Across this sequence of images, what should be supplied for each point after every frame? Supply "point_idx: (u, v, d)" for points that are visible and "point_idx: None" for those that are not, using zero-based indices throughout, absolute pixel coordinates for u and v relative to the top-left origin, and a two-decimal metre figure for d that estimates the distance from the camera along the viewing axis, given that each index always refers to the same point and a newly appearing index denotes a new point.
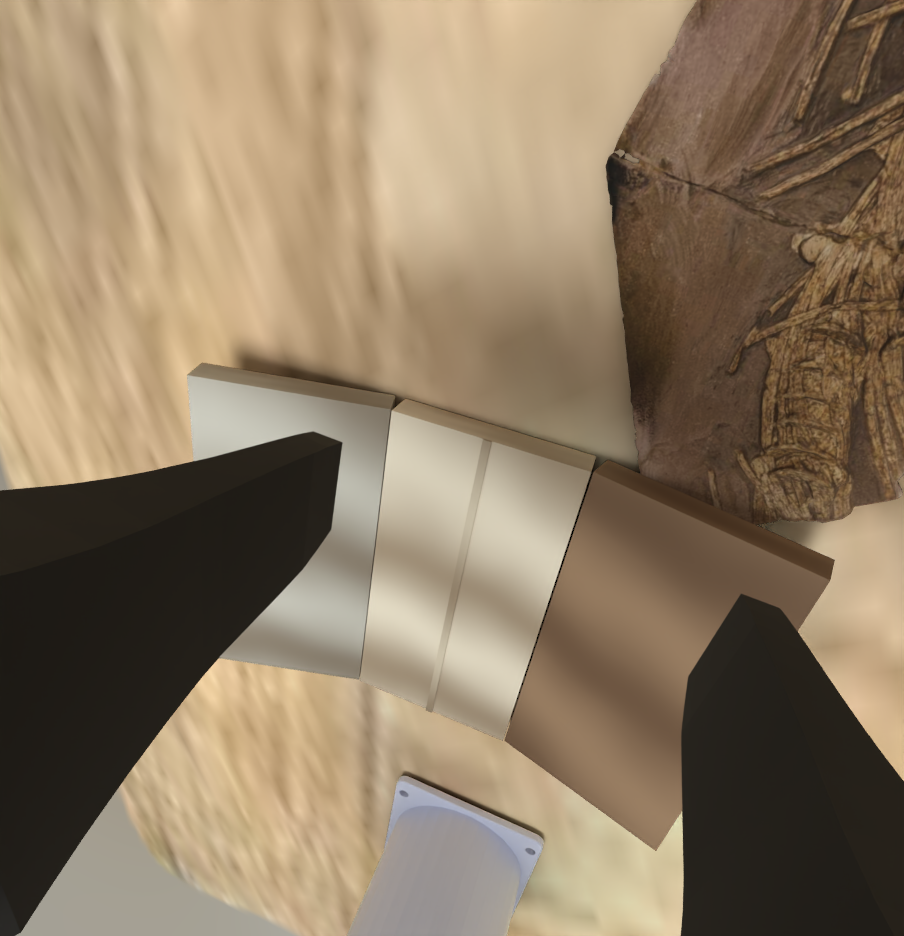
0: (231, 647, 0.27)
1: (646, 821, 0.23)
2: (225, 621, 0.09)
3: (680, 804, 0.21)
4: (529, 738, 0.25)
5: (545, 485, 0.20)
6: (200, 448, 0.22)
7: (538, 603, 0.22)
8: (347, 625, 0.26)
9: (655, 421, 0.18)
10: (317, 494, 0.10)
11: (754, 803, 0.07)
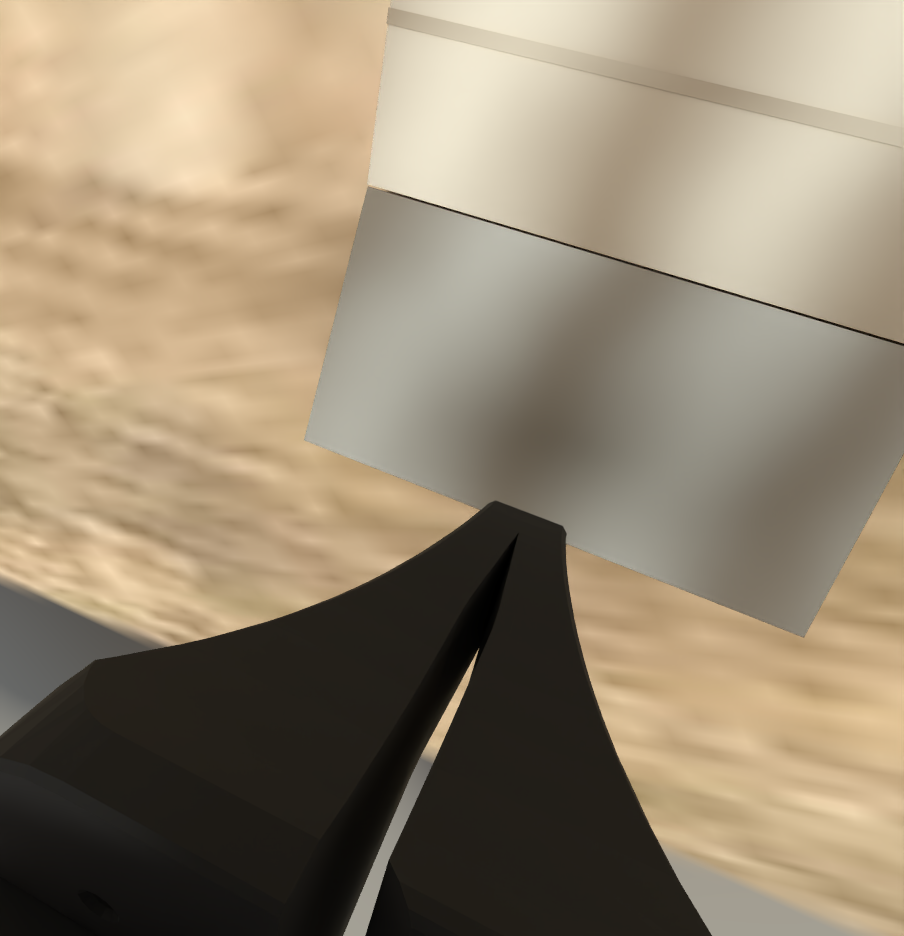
0: (790, 585, 0.14)
1: None
2: (434, 717, 0.08)
3: None
4: None
5: None
6: (395, 465, 0.16)
7: None
8: (776, 346, 0.13)
9: None
10: None
11: None
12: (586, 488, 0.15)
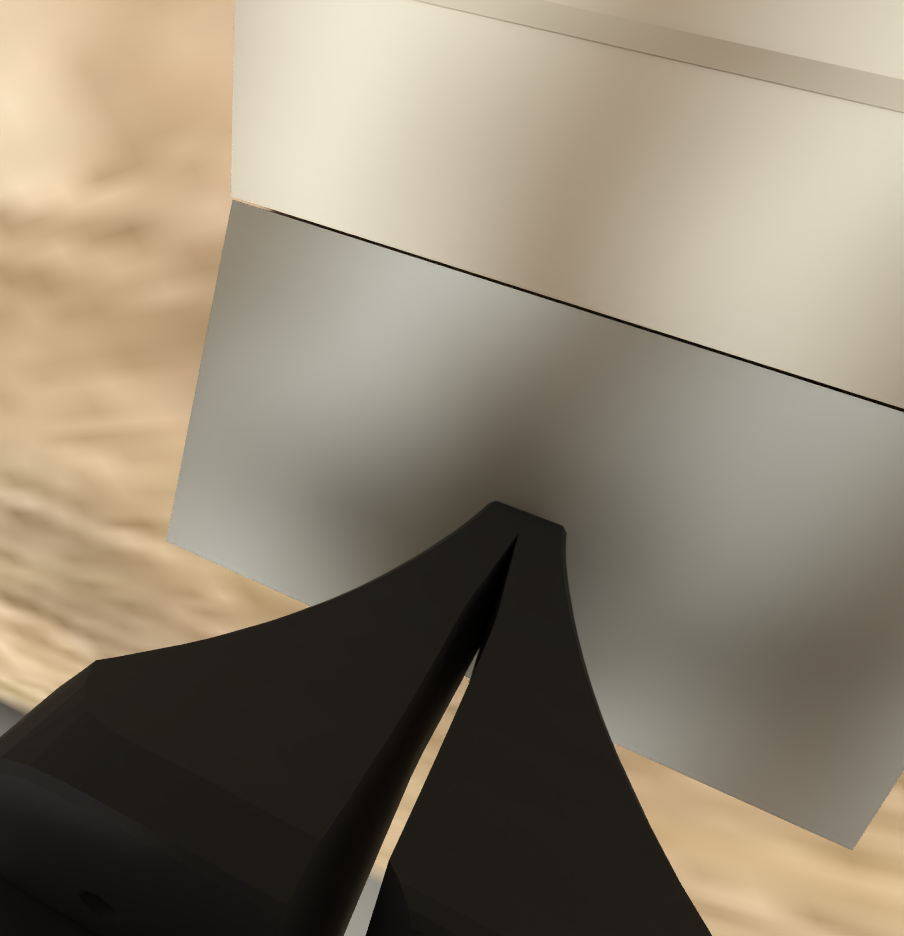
0: (834, 778, 0.10)
1: None
2: (434, 717, 0.08)
3: None
4: None
5: None
6: (284, 581, 0.12)
7: None
8: (816, 440, 0.09)
9: None
10: None
11: None
12: None
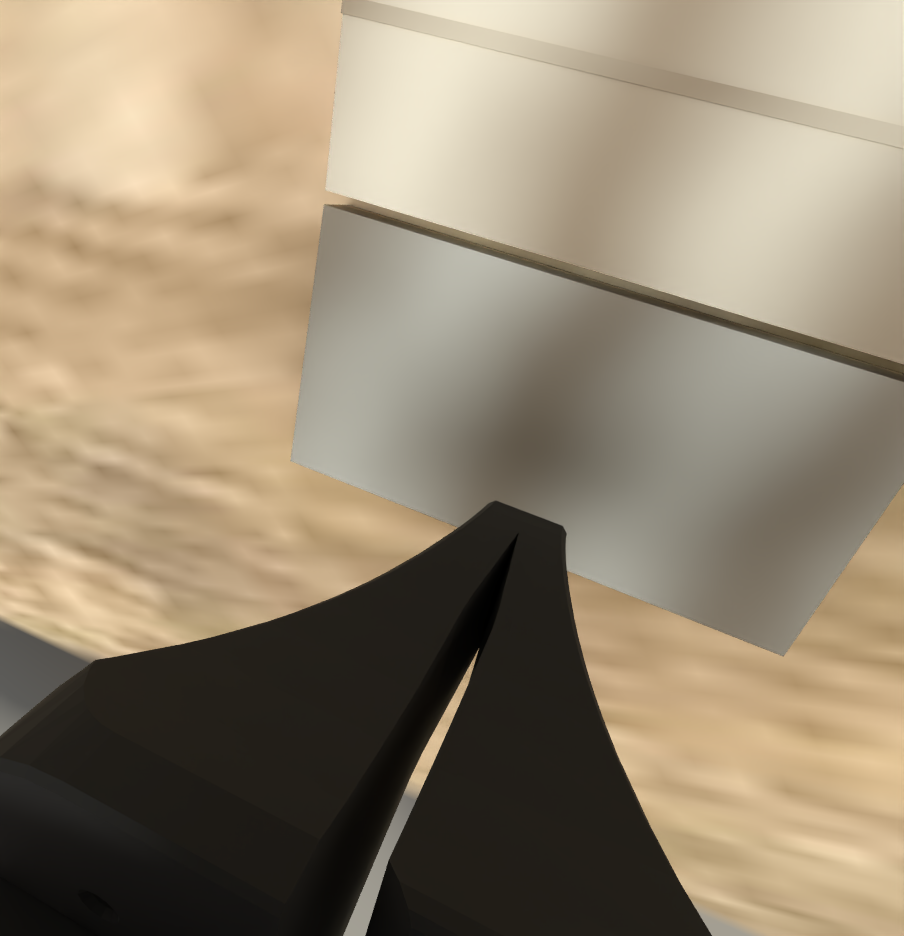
0: (772, 610, 0.14)
1: None
2: (434, 717, 0.08)
3: None
4: None
5: None
6: (380, 487, 0.17)
7: None
8: (765, 380, 0.12)
9: None
10: None
11: None
12: (568, 514, 0.15)
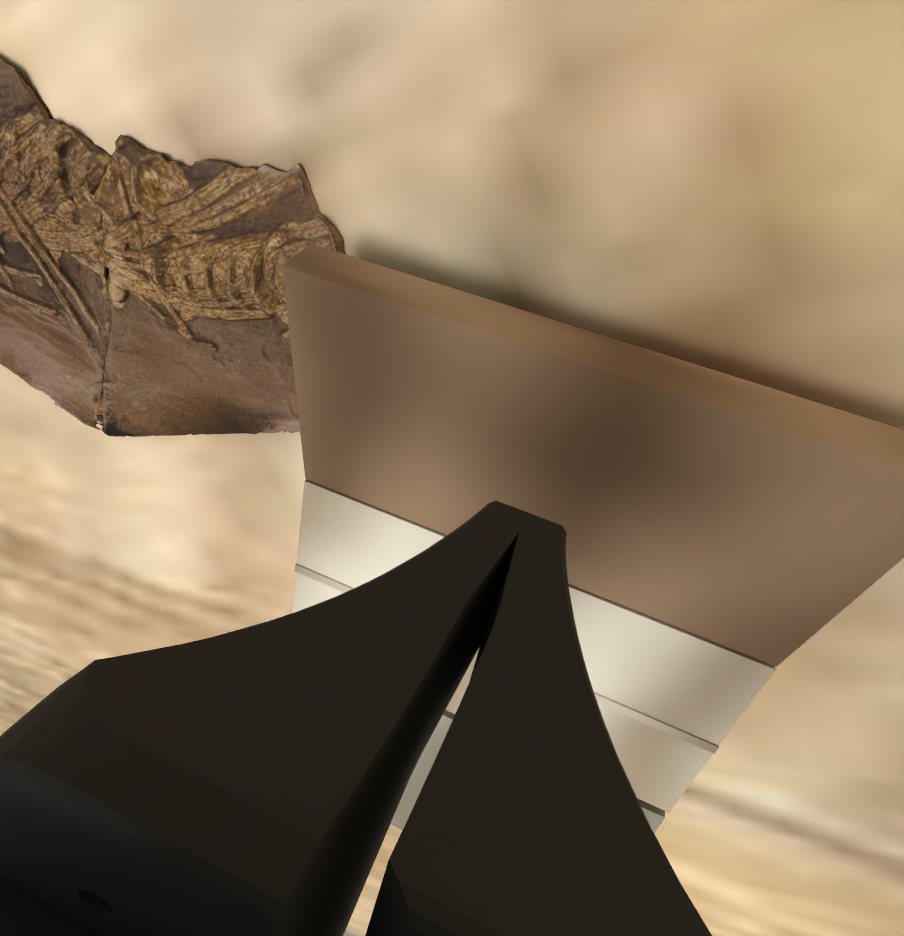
0: None
1: (881, 498, 0.11)
2: (434, 717, 0.08)
3: (793, 438, 0.11)
4: (750, 631, 0.15)
5: (328, 525, 0.18)
6: None
7: None
8: None
9: (269, 413, 0.19)
10: None
11: None
12: None
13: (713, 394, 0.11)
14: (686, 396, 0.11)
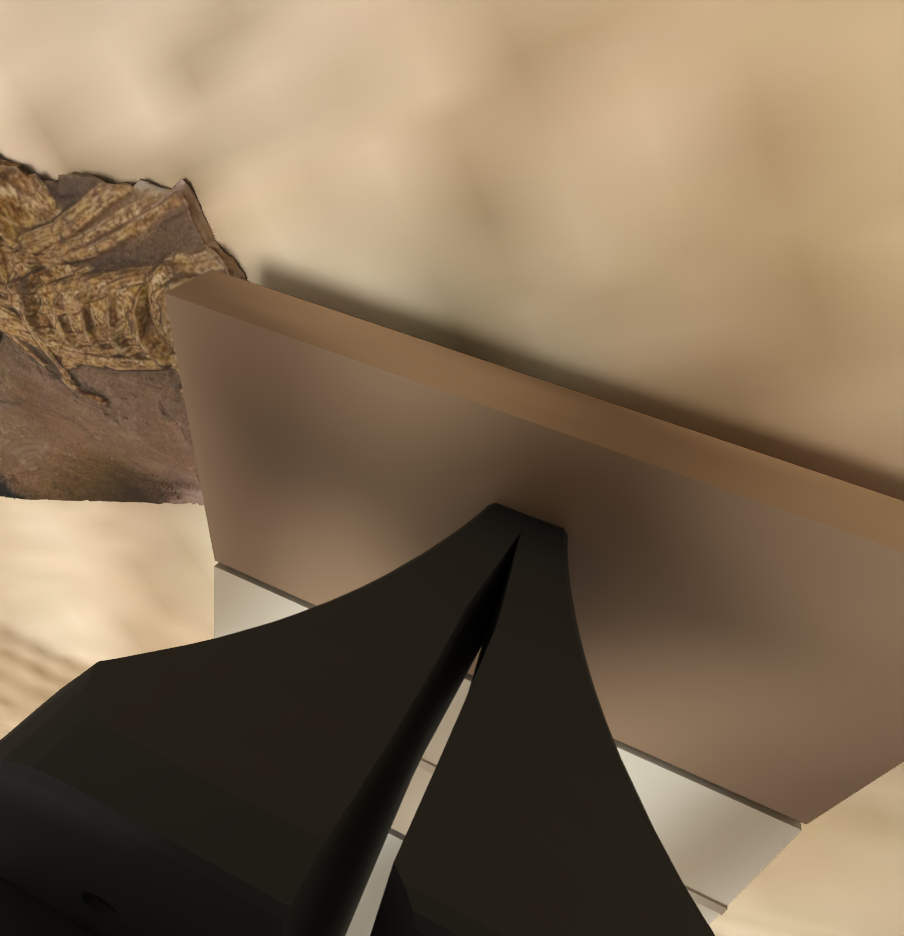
0: None
1: None
2: (436, 718, 0.08)
3: (843, 540, 0.08)
4: (772, 779, 0.11)
5: (246, 618, 0.15)
6: None
7: None
8: None
9: (175, 481, 0.15)
10: None
11: None
12: None
13: (730, 475, 0.08)
14: (694, 478, 0.08)
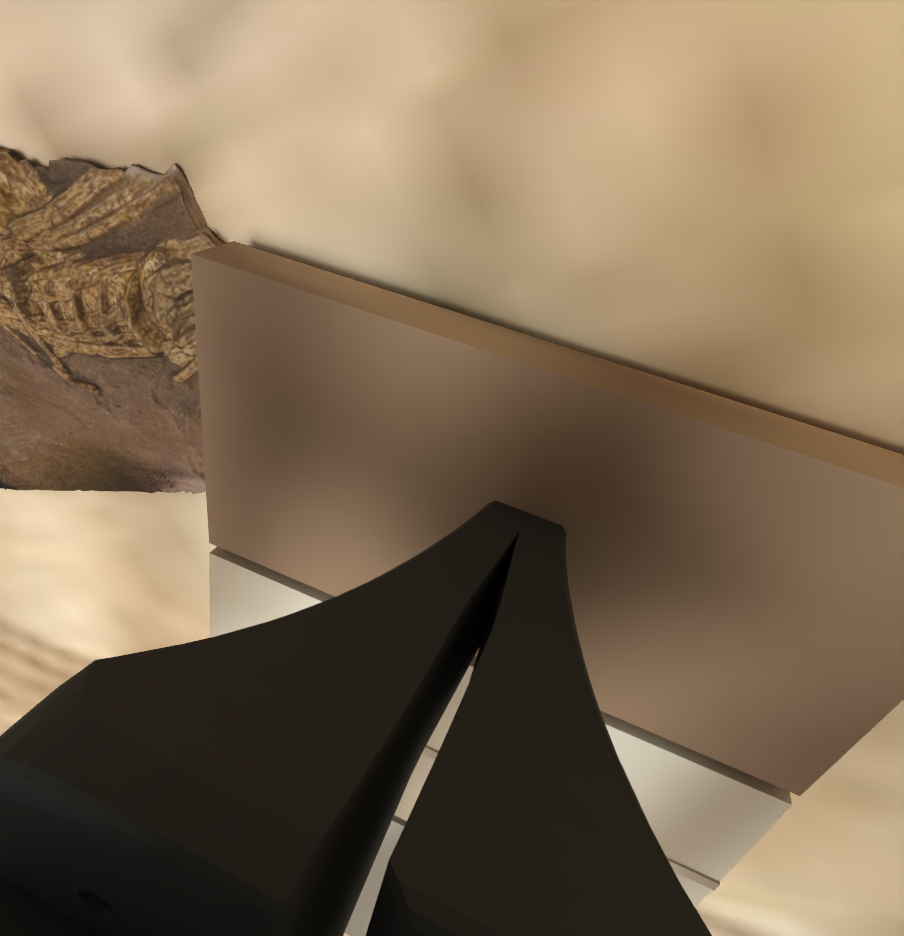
0: None
1: None
2: (434, 717, 0.08)
3: (827, 472, 0.09)
4: (766, 745, 0.12)
5: (242, 604, 0.15)
6: None
7: None
8: None
9: (167, 470, 0.15)
10: None
11: None
12: None
13: (723, 418, 0.09)
14: (691, 416, 0.09)
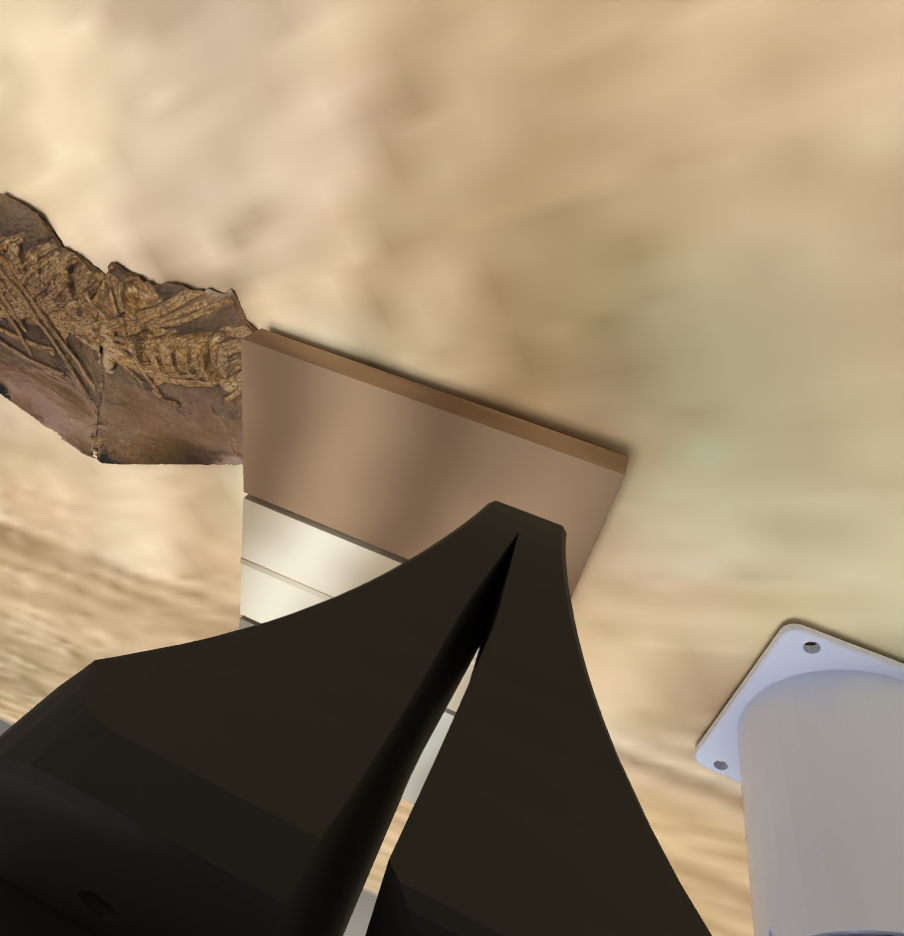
0: None
1: (581, 481, 0.19)
2: (434, 717, 0.08)
3: (530, 445, 0.19)
4: None
5: (262, 529, 0.26)
6: None
7: (365, 555, 0.24)
8: None
9: (218, 451, 0.26)
10: None
11: None
12: None
13: (489, 420, 0.20)
14: (473, 420, 0.19)
